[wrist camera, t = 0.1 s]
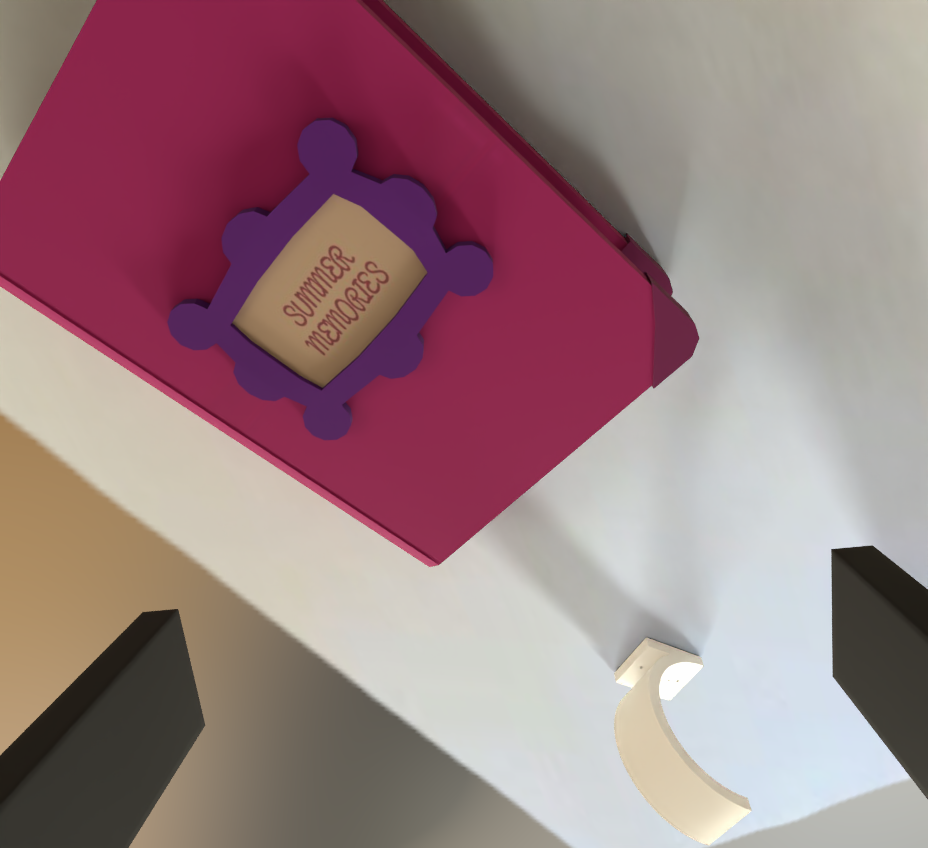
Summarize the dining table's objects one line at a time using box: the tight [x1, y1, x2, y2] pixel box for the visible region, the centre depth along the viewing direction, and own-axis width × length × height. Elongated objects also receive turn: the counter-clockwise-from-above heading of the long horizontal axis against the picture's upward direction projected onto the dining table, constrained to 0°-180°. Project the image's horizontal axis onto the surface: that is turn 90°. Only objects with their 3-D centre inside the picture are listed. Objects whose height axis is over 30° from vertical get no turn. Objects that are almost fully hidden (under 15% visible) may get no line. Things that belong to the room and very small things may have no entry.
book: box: [0, 0, 699, 567], centre depth 36 cm, size 21×28×8 cm
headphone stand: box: [614, 637, 752, 845], centre depth 51 cm, size 5×6×12 cm
